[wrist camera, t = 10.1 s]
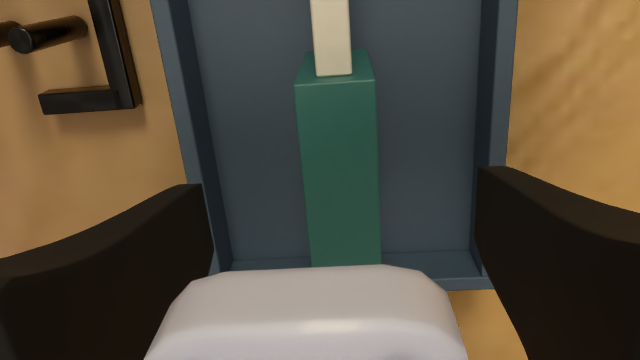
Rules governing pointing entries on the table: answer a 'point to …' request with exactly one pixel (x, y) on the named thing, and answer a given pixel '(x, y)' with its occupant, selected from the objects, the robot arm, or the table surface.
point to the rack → (113, 53)
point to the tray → (392, 123)
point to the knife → (338, 143)
